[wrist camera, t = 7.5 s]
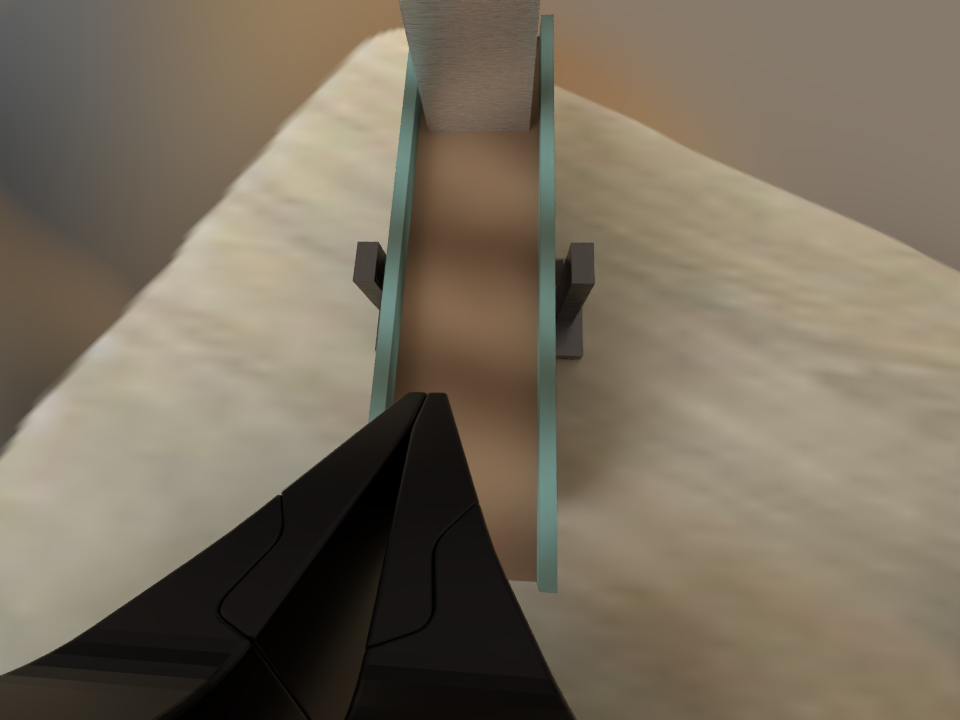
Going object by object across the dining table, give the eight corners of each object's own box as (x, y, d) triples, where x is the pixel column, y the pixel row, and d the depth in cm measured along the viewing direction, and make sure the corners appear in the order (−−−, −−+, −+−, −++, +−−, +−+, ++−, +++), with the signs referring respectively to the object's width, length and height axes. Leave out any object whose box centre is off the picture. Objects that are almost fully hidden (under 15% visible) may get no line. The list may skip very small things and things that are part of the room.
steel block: (529, 130, 18) (548, -102, 11) (428, 132, 19) (376, -92, 11) (529, 51, 20) (547, -210, 12) (435, 54, 20) (392, -198, 12)
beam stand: (579, 359, 22) (608, 326, 16) (379, 354, 23) (336, 321, 17) (578, 265, 23) (603, 204, 17) (388, 263, 24) (352, 204, 18)
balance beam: (555, 555, 17) (574, 594, 13) (377, 545, 18) (334, 578, 13) (553, 99, 23) (565, 14, 19) (420, 102, 24) (400, 20, 19)
